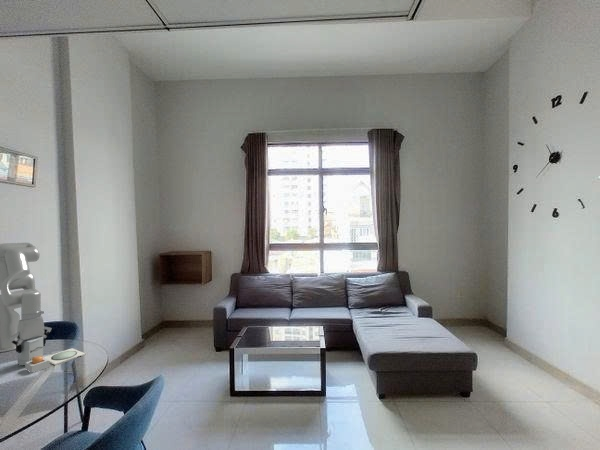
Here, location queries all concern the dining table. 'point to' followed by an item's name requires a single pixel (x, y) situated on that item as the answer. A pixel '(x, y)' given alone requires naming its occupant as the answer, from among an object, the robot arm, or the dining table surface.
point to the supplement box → (30, 349)
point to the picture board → (64, 356)
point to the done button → (37, 359)
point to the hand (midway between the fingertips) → (31, 348)
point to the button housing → (37, 365)
